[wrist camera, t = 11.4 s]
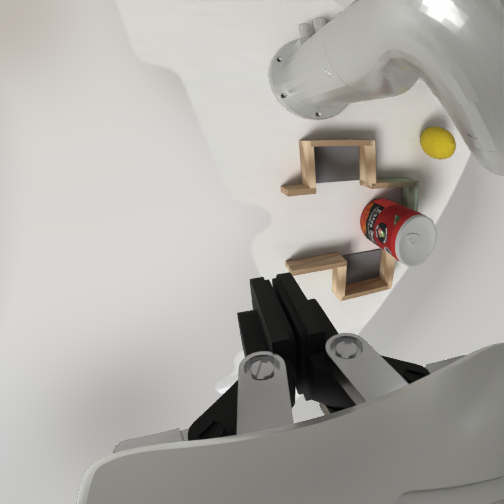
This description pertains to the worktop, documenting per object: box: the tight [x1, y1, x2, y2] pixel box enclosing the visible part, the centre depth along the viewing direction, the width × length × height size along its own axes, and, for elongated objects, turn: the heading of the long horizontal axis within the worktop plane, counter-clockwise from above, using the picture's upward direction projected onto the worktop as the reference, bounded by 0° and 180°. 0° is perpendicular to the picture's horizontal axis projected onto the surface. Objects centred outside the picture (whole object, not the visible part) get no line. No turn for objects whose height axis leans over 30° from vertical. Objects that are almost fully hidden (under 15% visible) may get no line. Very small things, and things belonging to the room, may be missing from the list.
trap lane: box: [281, 139, 419, 301], centre depth 41 cm, size 25×23×4 cm
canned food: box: [360, 199, 437, 267], centre depth 39 cm, size 8×8×11 cm
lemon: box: [420, 127, 456, 159], centre depth 36 cm, size 6×6×8 cm
